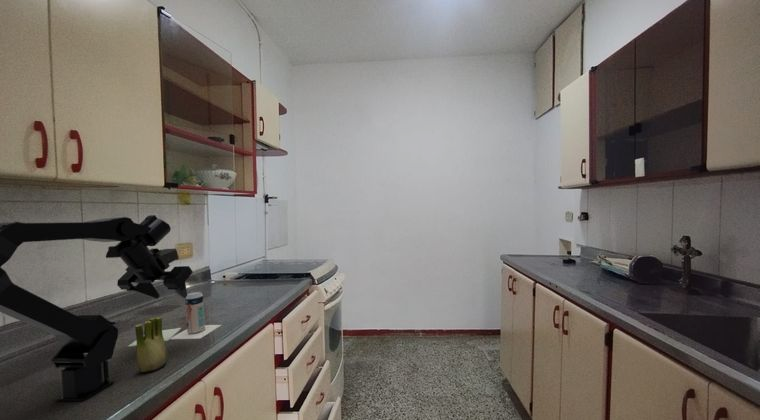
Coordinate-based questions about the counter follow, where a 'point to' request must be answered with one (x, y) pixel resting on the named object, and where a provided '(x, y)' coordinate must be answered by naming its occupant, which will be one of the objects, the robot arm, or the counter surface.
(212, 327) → the card
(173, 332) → the sage mat
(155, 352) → the fennel bulb
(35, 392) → the counter surface
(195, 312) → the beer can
